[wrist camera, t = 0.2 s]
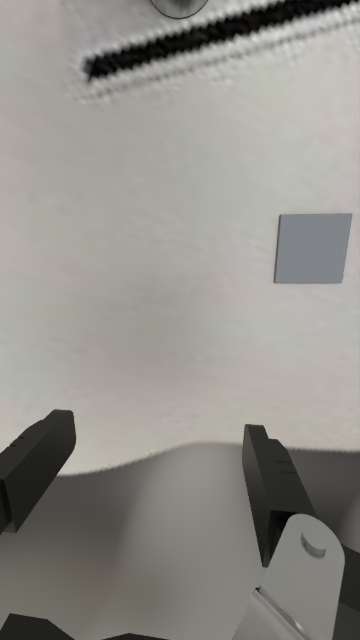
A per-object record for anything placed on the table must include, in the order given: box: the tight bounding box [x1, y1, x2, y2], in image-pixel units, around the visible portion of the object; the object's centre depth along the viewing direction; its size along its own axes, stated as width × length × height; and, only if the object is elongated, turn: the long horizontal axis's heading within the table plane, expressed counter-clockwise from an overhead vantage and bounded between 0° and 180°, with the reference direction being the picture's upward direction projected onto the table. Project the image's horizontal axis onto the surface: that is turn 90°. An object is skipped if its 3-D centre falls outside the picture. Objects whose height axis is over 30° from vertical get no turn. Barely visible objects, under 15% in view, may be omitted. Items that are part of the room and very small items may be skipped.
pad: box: [274, 213, 352, 283], centre depth 34 cm, size 10×10×1 cm
